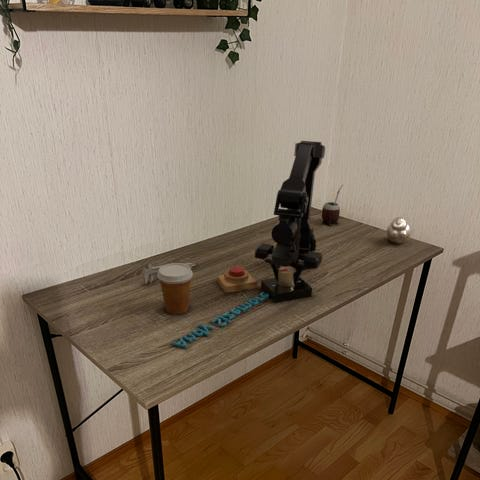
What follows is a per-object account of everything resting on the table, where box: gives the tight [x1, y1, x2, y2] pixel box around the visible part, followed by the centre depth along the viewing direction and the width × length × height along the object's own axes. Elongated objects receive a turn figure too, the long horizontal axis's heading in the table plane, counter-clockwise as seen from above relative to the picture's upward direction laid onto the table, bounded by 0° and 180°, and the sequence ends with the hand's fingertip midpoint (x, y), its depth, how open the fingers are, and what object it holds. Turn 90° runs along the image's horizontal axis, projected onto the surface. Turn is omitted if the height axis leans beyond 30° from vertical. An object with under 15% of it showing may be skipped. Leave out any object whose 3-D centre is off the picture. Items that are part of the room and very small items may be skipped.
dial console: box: [260, 276, 313, 304], centre depth 147 cm, size 12×10×3 cm
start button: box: [228, 265, 245, 277], centre depth 149 cm, size 4×4×2 cm
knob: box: [278, 266, 296, 288], centre depth 145 cm, size 5×5×5 cm
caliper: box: [142, 262, 197, 285], centre depth 156 cm, size 20×1×6 cm, turn 136°
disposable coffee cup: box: [156, 262, 194, 315], centre depth 135 cm, size 10×10×12 cm
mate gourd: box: [321, 183, 344, 227], centre depth 198 cm, size 8×8×15 cm
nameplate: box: [170, 291, 269, 349], centre depth 133 cm, size 37×1×5 cm
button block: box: [216, 269, 257, 294], centre depth 151 cm, size 10×8×4 cm
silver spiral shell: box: [386, 216, 413, 244], centre depth 181 cm, size 9×10×10 cm
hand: (286, 282), depth 146 cm, fingers closed on knob, 5 cm apart
